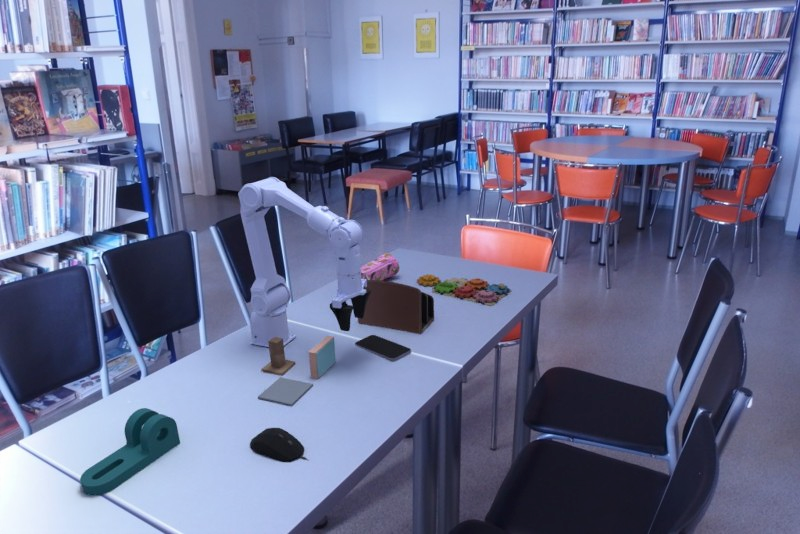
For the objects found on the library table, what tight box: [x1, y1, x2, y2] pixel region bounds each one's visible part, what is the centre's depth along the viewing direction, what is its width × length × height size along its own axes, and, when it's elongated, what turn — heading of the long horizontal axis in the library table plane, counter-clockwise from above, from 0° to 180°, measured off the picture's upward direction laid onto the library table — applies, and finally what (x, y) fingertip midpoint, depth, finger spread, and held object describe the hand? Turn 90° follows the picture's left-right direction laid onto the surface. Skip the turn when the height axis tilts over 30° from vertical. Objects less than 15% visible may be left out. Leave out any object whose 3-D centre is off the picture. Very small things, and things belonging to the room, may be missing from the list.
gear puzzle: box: [416, 273, 512, 307], centre depth 188 cm, size 31×16×4 cm, turn 54°
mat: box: [257, 376, 314, 407], centre depth 133 cm, size 9×9×1 cm
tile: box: [308, 335, 337, 380], centre depth 141 cm, size 2×9×7 cm, turn 157°
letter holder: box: [357, 280, 435, 335], centre depth 164 cm, size 10×20×14 cm, turn 65°
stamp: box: [260, 337, 297, 377], centre depth 143 cm, size 6×6×8 cm
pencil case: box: [361, 252, 400, 281], centre depth 193 cm, size 21×9×9 cm, turn 145°
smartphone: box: [354, 334, 412, 362], centre depth 152 cm, size 7×1×15 cm
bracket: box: [79, 407, 181, 497], centre depth 109 cm, size 18×7×8 cm, turn 150°
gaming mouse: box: [249, 427, 310, 463], centre depth 113 cm, size 6×15×4 cm, turn 59°
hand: (352, 323), depth 143 cm, fingers open, 7 cm apart
